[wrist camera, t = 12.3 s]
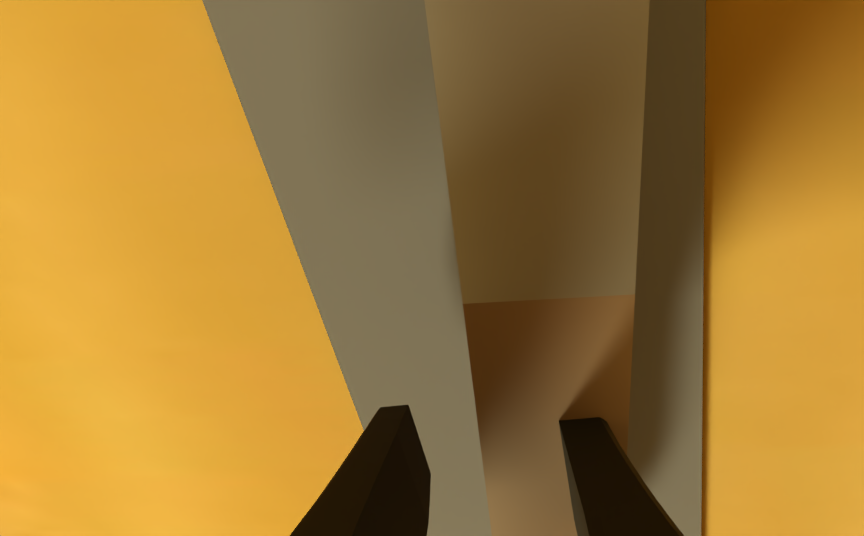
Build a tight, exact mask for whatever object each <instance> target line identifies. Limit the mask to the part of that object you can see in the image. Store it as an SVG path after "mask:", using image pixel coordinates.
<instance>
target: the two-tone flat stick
mask: <svg viewBox="0 0 864 536" xmlns="http://www.w3.org/2000/svg"><path fill="white" fill-rule="evenodd" d="M424 1H425V9H426V17H427V25H428V33H429V41H430V49H431V57H432V65H433V73H434V81H435V88H436V96H437V104H438V112H439V120H440V128H441V136H442V144H443V152H444V160H445V168H446V176H447V184H448V192H449V200H450V208H451V216H452V223H453V231H454V239H455V247H456V255H457V263H458V271H459V279H460V287H461V295H462V303H463V311H464V319H465V327H466V335H467V343H468V350H469V358H470V366H471V374H472V382H473V390H474V398H475V406H476V414H477V422H478V430H479V438H480V446H481V454H482V462H483V470H484V478H485V485H486V493H487V501H488V509H489V517H490V525H491V533H492V536H578V535H577V531H576V526H575V522H574V516H573V510H572V503H571V497H570V490H569V484H568V478H567V471H566V465H565V459H564V452H563V446H562V439H561V433H560V427H559V421H560V420H571V419H583V418H595V417H600V418H602V419H604V420H605V421H607V423H608V425H609V427H610V428H611V430H612V432H613V434H614V435H615V437H616V439H617V441H618V442H619V444H620V446H621V447H622V449H623V450H624V452H625V454H626V455H627V447H628V426H629V406H630V386H631V366H632V346H633V326H634V305H635V285H636V265H637V245H638V225H639V204H640V184H641V164H642V144H643V124H644V103H645V83H646V63H647V43H648V23H649V2H650V0H424Z"/></svg>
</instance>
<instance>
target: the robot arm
mask: <svg viewBox="0 0 864 536" xmlns="http://www.w3.org/2000/svg"><path fill="white" fill-rule="evenodd" d="M559 427H560V433H561V439H562V446H563V452H564V459H565V465H566V471H567V478H568V484H569V490H570V497H571V503H572V510H573V516H574V522H575V526H576V531H577V535H578V536H684V535H683V533H682V532H681V531H680V530H679V528H678V527H677V526H676V525H675V523H674V522H673V521H672V519H671V518H670V517H669V515H668V514H667V513H666V511H665V510H664V509H663V507H662V506H661V505H660V503H659V502H658V501H657V499H656V498H655V496H654V495H653V494H652V492H651V491H650V489H649V488H648V487H647V485H646V484H645V482H644V481H643V479H642V478H641V476H640V475H639V473H638V472H637V470H636V469H635V467H634V466H633V464H632V463H631V461H630V460H629V458H628V457H627V455H626V454H625V452H624V450H623V449H622V447H621V446H620V444H619V442H618V441H617V439H616V437H615V435H614V434H613V432H612V430H611V428H610V427H609V425H608V423H607V421H605V420H604V419H602V418H600V417H595V418H583V419H571V420H560V421H559ZM430 485H431V472H430V469H429V466H428V463H427V460H426V457H425V454H424V451H423V448H422V445H421V441H420V438H419V435H418V432H417V429H416V426H415V423H414V420H413V417H412V414H411V411H410V408H409V405H398V406H388V407H380V408H379V409H378V411H377V412H376V413H375V415H374V416H373V418H372V419H371V421H370V423H369V424H368V426H367V427H366V429H365V430H364V432H363V433H362V435H361V436H360V438H359V439H358V441H357V443H356V444H355V446H354V447H353V449H352V450H351V452H350V453H349V455H348V456H347V458H346V459H345V461H344V462H343V464H342V465H341V466H340V468H339V469H338V471H337V472H336V474H335V475H334V476H333V478H332V479H331V481H330V482H329V484H328V485H327V487H326V488H325V489H324V491H323V492H322V494H321V495H320V496H319V498H318V499H317V501H316V502H315V503H314V505H313V506H312V507H311V509H310V510H309V511H308V512H307V514H306V515H305V516H304V518H303V519H302V520H301V522H300V523H299V524H298V525H297V527H296V528H295V529H294V531H293V532H292V533H291V535H290V536H427V531H428V524H429V507H430Z"/></svg>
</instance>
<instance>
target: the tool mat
mask: <svg viewBox="0 0 864 536" xmlns="http://www.w3.org/2000/svg"><path fill="white" fill-rule="evenodd" d="M203 3H204V6H205V8H206V11H207V14H208V16H209V19H210V22H211V24H212V27H213V30H214V32H215V35H216V38H217V40H218V43H219V46H220V48H221V51H222V54H223V56H224V59H225V62H226V64H227V67H228V70H229V72H230V75H231V78H232V80H233V83H234V86H235V88H236V91H237V94H238V96H239V99H240V102H241V104H242V107H243V110H244V112H245V115H246V118H247V120H248V123H249V126H250V128H251V131H252V134H253V136H254V139H255V142H256V144H257V147H258V150H259V152H260V155H261V158H262V160H263V163H264V165H265V168H266V171H267V173H268V176H269V179H270V181H271V184H272V187H273V189H274V192H275V195H276V197H277V200H278V203H279V205H280V208H281V211H282V213H283V216H284V219H285V221H286V224H287V227H288V229H289V232H290V235H291V237H292V240H293V243H294V245H295V248H296V251H297V253H298V256H299V259H300V261H301V264H302V267H303V269H304V272H305V275H306V277H307V280H308V283H309V285H310V288H311V291H312V293H313V296H314V299H315V301H316V304H317V307H318V309H319V312H320V315H321V317H322V320H323V323H324V325H325V328H326V331H327V333H328V336H329V339H330V341H331V344H332V347H333V349H334V352H335V355H336V357H337V360H338V363H339V365H340V368H341V371H342V373H343V376H344V379H345V381H346V384H347V387H348V389H349V392H350V395H351V397H352V400H353V403H354V405H355V408H356V411H357V413H358V416H359V419H360V421H361V424H362V427H363V429H364V430H365V429H366V427H367V426H368V424H369V423H370V421H371V419H372V418H373V416H374V415H375V413H376V412H377V411H378V409H379V408H380V407H388V406H398V405H409V408H410V411H411V414H412V417H413V420H414V423H415V426H416V429H417V432H418V435H419V438H420V441H421V445H422V448H423V451H424V454H425V457H426V460H427V463H428V466H429V469H430V472H431V485H430V507H429V524H428V531H427V536H492V533H491V525H490V517H489V509H488V501H487V493H486V485H485V478H484V470H483V462H482V454H481V446H480V438H479V430H478V422H477V414H476V406H475V398H474V390H473V382H472V374H471V366H470V358H469V350H468V343H467V335H466V327H465V319H464V311H463V303H462V295H461V287H460V279H459V271H458V263H457V255H456V247H455V239H454V231H453V223H452V216H451V208H450V200H449V192H448V184H447V176H446V168H445V160H444V152H443V144H442V136H441V128H440V120H439V112H438V104H437V96H436V88H435V81H434V73H433V65H432V57H431V49H430V41H429V33H428V25H427V17H426V9H425V1H424V0H203ZM705 48H706V0H650V2H649V23H648V43H647V63H646V83H645V103H644V124H643V144H642V164H641V184H640V204H639V225H638V245H637V265H636V285H635V305H634V326H633V346H632V366H631V386H630V406H629V426H628V447H627V457H628V458H629V460H630V461H631V463H632V464H633V466H634V467H635V469H636V470H637V472H638V473H639V475H640V476H641V478H642V479H643V481H644V482H645V484H646V485H647V487H648V488H649V489H650V491H651V492H652V494H653V495H654V496H655V498H656V499H657V501H658V502H659V503H660V505H661V506H662V507H663V509H664V510H665V511H666V513H667V514H668V515H669V517H670V518H671V519H672V521H673V522H674V523H675V525H676V526H677V527H678V528H679V530H680V531H681V532H682V533H683V535H684V536H701V502H702V389H703V275H704V162H705Z"/></svg>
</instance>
